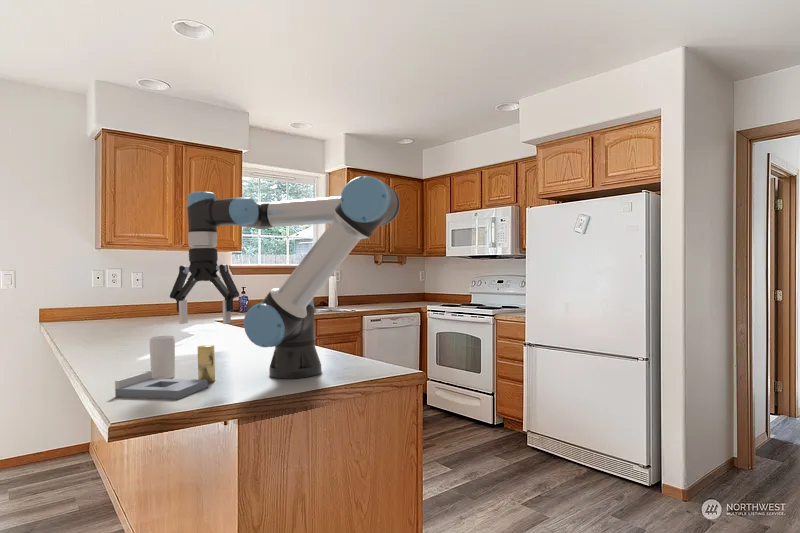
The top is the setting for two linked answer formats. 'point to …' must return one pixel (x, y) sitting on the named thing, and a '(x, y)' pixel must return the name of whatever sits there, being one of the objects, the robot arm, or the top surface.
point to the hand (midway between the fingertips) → (205, 323)
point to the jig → (156, 387)
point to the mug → (162, 357)
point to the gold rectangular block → (206, 363)
